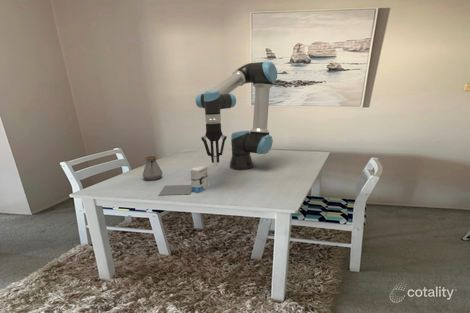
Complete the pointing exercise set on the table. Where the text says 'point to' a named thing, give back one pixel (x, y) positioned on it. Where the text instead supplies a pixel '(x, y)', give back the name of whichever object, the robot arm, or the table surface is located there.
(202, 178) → the ink box
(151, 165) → the coffee pot
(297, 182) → the table surface
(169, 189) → the mat
